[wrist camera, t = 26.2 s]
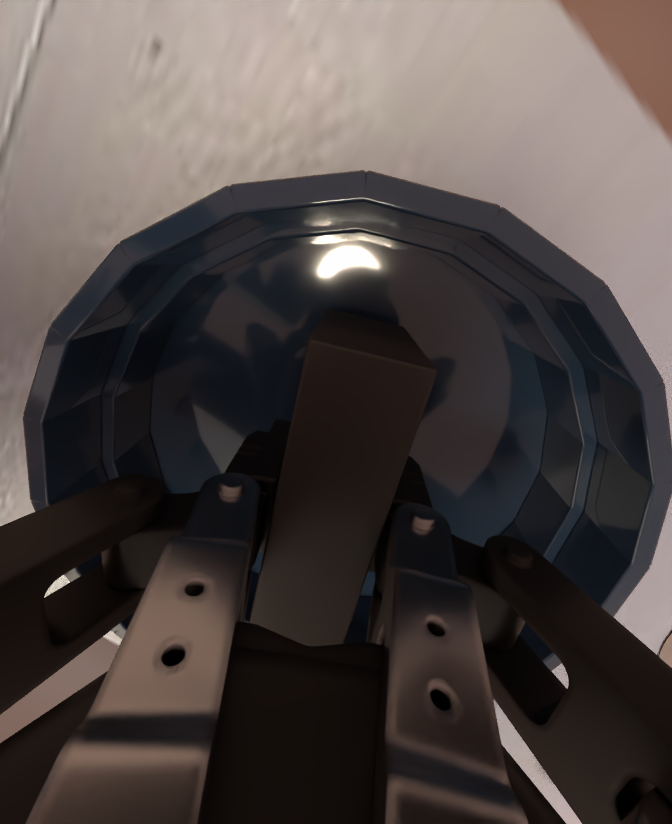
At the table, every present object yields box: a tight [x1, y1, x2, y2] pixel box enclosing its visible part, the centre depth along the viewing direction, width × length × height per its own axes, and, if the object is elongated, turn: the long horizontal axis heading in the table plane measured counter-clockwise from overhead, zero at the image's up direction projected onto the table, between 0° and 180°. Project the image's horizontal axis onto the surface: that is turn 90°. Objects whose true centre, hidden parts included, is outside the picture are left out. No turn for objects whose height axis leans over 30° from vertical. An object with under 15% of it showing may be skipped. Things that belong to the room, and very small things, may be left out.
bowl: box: [23, 170, 672, 700], centre depth 12 cm, size 16×16×5 cm
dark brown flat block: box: [249, 308, 437, 646], centre depth 11 cm, size 11×2×5 cm, turn 167°
